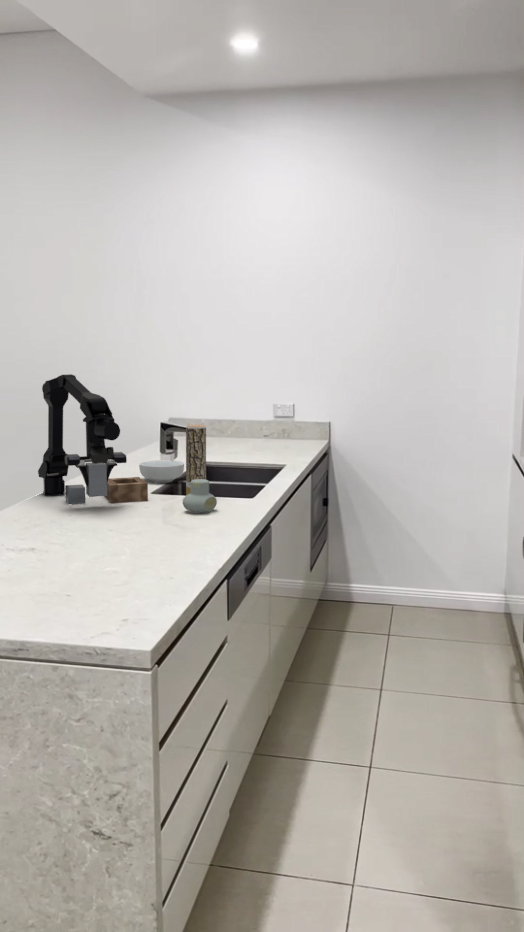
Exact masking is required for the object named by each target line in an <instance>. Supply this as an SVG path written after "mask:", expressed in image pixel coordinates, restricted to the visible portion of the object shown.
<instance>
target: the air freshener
mask: <svg viewBox="0 0 524 932" xmlns="http://www.w3.org/2000/svg"><path fill="white" fill-rule="evenodd" d="M217 504H218V500H217V498H216V497H215V496H214V495H213V494H212V493H210V481H209V480H208V479H206V480H205V479H195V480H192V481H191V487H190V494H188V495H185V496H184V497H183V499H182V505H183V507H184V509H185V510H187V511H188V512H190V513H195V514H208V513H210V512H211V511H212V510H214V509H215V508H216V506H217Z"/></svg>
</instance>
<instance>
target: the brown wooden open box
mask: <svg viewBox="0 0 524 932" xmlns="http://www.w3.org/2000/svg"><path fill="white" fill-rule="evenodd" d="M148 490H149V484H148V482H146V481H145V480H144V479H143V478H141V477H140V476H132V477H130V476H129V477H116V478H115V477H114V478H109V479H108V482H107V496H103V497H104V498H105V499H106V500H107V501H108V502H109V503H110V504H119V503H120V504H121V503H135V502H148V501H149V492H148Z"/></svg>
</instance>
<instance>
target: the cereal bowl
mask: <svg viewBox="0 0 524 932" xmlns="http://www.w3.org/2000/svg"><path fill="white" fill-rule="evenodd" d="M138 467H139V472H140V475H141V476H142V477H143V478H144V479H147V480H149V481H151V482H152V483H155V482H157V483H156V484H165V483H172V482H173V481H174V480H176V479H178V478H180V477H181V476H182V475H183V474H184V471H185V462H183V461H180V460H171V459H167V460H166V459H162V460H160V459H159V460H156V459H155V460H147V461H142V462H140V463H139V464H138Z"/></svg>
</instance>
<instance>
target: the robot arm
mask: <svg viewBox="0 0 524 932" xmlns="http://www.w3.org/2000/svg"><path fill="white" fill-rule="evenodd" d="M41 388H42V389H41V390H42V393H43V394H42V395H43V399H44V402H45V403H46V405H47V407H48V411H47V412H48V413H47V415H48V416H47V417H48V421H47V422H48V423H47V424H48V426H47V429H48V431H47V432H48V433H47V436H48V438H47V439H48V440H47V449H46V450H45V452H44V454H43V455H42V462H41V464H40V466H39V468H38V470H37V475H38V477H39V478H41V479H43V491H42V493H43V495H44V494H45V495H51V496H60V495H59V494H64V495H65V493H66V492H65V485H66V484H65V483H66V482H65V480H64V477H68V473H69V468H70V467H69V466H75V468H78V469H79V471H80V473H81V475H82V478H83V480H84V483H85V487H86V486H88V478H87V471H86V467H87V466H86V463H94V464H97V463H105V464H106V468H107V482H108V479H110V475H111V473H112V470H113V469H114V467H117V466H118V464H127V461H128V459H127V455H126V454H125V453H123V452H122V451H118V452H117V451H115V452H114V450H115V449H114V447H113V446H106V441H116V440H117V439H118V438H119V437H120V435H121V428H120V425H119V424H118V423H116V422H115V418H114V416H113V412H112V410H111V409H110V407H109V404H108V401H107V400H106V398H105V397H104V396H102V395H100V394H97V393H93V392H91V391H90V390H89V389H88V388H87V387H86V386H85V385H84V384H82V383H81V382H80V380H79V379H77V377H76V375H74V374H72V373H71V374H70V373H69V374H61V375H58V376H57V377H54V378H51V379H48V380H46V381H45V382H44V383H43V384H42V386H41ZM69 395H71V397H72V398H74V399H75V400H76V401H77V402H78V403H79V409H80V411H81V412H82V414H83V415H84V416H85V417H84V418H83V419H82V423H85V439H86V441H85V442H86V443H85V445H86V447H85V449H86V450H85V451H86V455H83V456H80V455H79V454H77V453H73V454H71V453H70V454H69V453H66V451H65V449H64V406H65V405H66V403H67V401H68V400H69ZM105 440H106V441H105ZM45 495H44V496H45Z"/></svg>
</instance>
